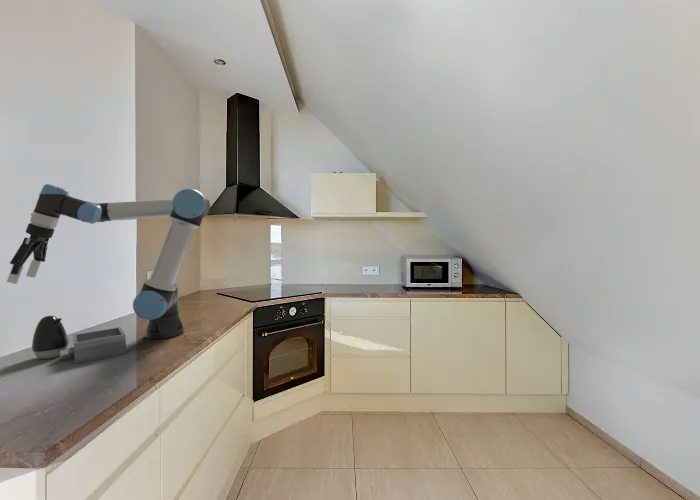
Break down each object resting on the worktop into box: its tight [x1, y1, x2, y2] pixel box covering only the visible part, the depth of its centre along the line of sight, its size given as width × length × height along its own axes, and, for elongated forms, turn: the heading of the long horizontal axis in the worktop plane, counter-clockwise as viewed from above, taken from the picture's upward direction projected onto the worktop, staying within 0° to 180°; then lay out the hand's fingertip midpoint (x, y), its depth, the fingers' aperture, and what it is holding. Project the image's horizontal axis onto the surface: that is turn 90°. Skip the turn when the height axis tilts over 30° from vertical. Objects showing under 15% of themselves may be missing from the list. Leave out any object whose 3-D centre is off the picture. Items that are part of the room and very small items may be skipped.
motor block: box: [59, 326, 128, 364], centre depth 128 cm, size 19×15×7 cm
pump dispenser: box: [31, 315, 70, 360], centre depth 127 cm, size 10×10×15 cm
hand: (21, 279), depth 127 cm, fingers open, 13 cm apart
